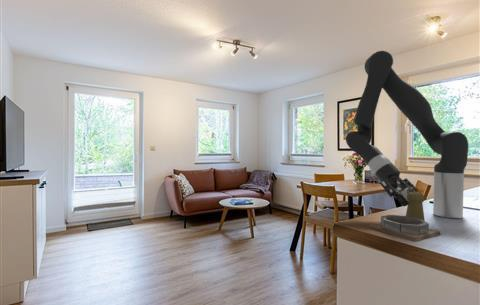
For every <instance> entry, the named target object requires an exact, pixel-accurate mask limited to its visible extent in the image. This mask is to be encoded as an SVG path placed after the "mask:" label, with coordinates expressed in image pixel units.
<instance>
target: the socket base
mask: <svg viewBox="0 0 480 305" xmlns="http://www.w3.org/2000/svg"><path fill="white" fill-rule="evenodd" d="M368 228H369V229H371V230H376V231H379V232H383V233H386V234H390V235H391V236H396V237H399V238H403V239H406V240H409V241H412V242H417V241H420V240H424V239H429V238H432V237H435V236H436V237H437V236H439V235H441V230H438V229H433V228H430V223H428V222H427V221H426V220H425V221H424V220H422V219H417V218H413V217H408V216H406V215H397V214H385V215H381V216H380V222H377V223H371V224H369V225H368Z"/></svg>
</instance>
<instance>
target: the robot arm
mask: <svg viewBox="0 0 480 305" xmlns="http://www.w3.org/2000/svg"><path fill="white" fill-rule="evenodd" d="M393 65H394V57H393V55H392V54H391V53H390V52H389V51H387V50H378V51H376V52H374V53H372V54H371V55H370V56H369V57H368V58H367V59H366V61H365V62H364V71H365V73H366V74H367V79H366V84H365V87H364V89H363V92H362V95H361V97H360V99H359V100H360V101H359V103H358V104H357V108H356V112H355V117H354V120H353V122H354V124H355V125H356V126H357V131H356V130H352V131H350V132H348V133H347V134H346V136H345V143H346V145H347V146H348V148H349V149H351V150H352V151H353V152H354V153H355V154H356V155H358V156H359V157H361V158H362V160H363V161H364V163H365V164H366V165H367V166H368V167H369V169H370V171H371V172H372V173H373V174H374V175H375V177H376V178H377V179H378V181H380V185H381V187H382V189H384V191H385V192H386V193H387V195H388V196H389V197H391V198H395V199H396V200H398V202H399V203H400V204H401V205H402V207H407V206H408V204H409V202H408V200H407V197H406V196H404V194H406V195H407V194H408V193H410V192H417V193H418V191H419V190H418V189H417V187H416V186H415V185H414V184H413V183H412V182H411V181H410V180H409V179H408V178H404V179H403V178H401V177H400V175H401V171H400V170H399V169H398V167H396V166H395V165H394V163H393V162H392V161H391V160H390V158H388V157H387V156H386V155H385V154H384V153H383V152H381V150H380V149H379V148H378V147H377V146H375V145H372V144H371V141H372V138H373V137H372V136H373V120H374V118H375V115H376V114H375V113H376V110H377V106H378V104H379V99H380V95H381V93H382V90H383V91H385V93H386V94H387V96H388V97H389V98H390V100H391V101H392V102H393V103H394V105H395V106H396V107H397V108H398V110H400V112H401V113H402V114H403V115H404V116H405V118H407V120H409V122H410V123H411V124H412V125H413V127H415V128H416V129H417V130H418V132H419V133H420V135H421V136H422V137H423V139H424V140H425V141H426V144H428V146H429V148H430V149H431V150H432V151H433V152H434V153H435V154H438V155H440V160H439V161H438V163H436V164H435V165H434V167H433V168H434V169H433V170H434V171H433V203H432V204H433V205H432V206H433V207H432V214H433V215H435V216H438V217H442V218H448V219H463V218H464V190H465V189H464V188H465V187H464V186H465V185H464V183H465V182H464V181H465V180H464V179H465V168H466V167H467V164H468V156H469V140H468V138H467V137H466V135H465V133H462V132H460V131H445V130H444V129H443V128H442V127H441V126H440V125H439V124H438V122H437V121H436V120H435V116H434V114H433V109H432V107H431V104H430V101H428V99H427V98H426V97H425V96H424V95H423V94H422V93H421V91H419V90H418V89H417V88H416V87H414V86H413V85H412V84H410V83H408V82H407V81H405V80H403V78H402V77H400V76H399V75H398V74H397V73H396V71H395V70H394V69H393V68H392V67H393ZM402 193H403V194H402Z"/></svg>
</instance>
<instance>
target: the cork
mask: <svg viewBox="0 0 480 305" xmlns="http://www.w3.org/2000/svg"><path fill="white" fill-rule="evenodd" d="M406 199H407V201H408V202H409V204H408V205H407V206H406V212H405V216H408V217H413V218H417V219H422V220H424V221H426V220H425V212H424V205H423V203H424V202H425V194H423V193H421V192H418V191H417V192H410V193H408V194H406Z"/></svg>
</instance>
